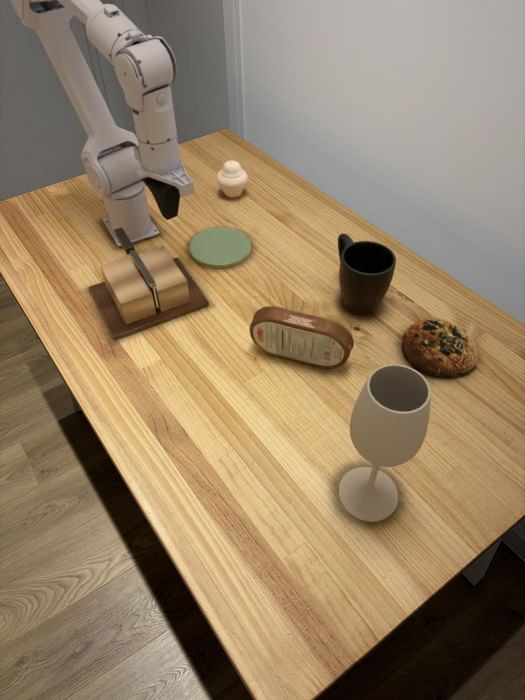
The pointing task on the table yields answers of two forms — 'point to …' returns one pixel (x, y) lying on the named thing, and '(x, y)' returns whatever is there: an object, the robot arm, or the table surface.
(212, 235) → the plate
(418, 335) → the bread roll
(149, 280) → the knife
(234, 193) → the muffin
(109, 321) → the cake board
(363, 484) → the wineglass
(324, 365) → the tin
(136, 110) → the robot arm
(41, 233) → the table surface
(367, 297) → the mug
